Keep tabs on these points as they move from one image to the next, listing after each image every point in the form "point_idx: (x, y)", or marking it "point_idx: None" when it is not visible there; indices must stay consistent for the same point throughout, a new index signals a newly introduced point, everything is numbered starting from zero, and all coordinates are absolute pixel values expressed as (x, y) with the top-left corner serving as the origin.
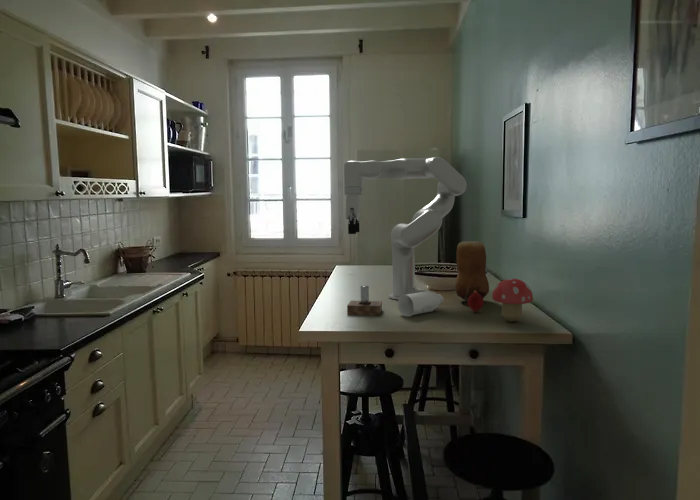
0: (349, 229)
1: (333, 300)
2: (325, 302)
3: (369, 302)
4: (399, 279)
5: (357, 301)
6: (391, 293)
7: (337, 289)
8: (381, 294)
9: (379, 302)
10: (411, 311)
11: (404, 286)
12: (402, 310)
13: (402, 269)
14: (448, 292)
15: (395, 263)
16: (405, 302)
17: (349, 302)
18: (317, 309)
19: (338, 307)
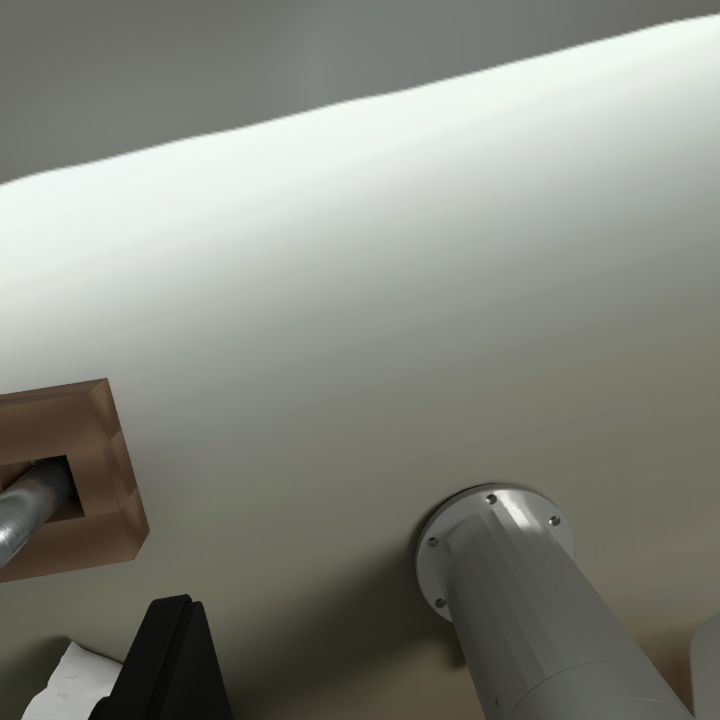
0: (121, 717)
1: (323, 193)
2: (249, 161)
3: (83, 505)
4: (464, 626)
5: (73, 439)
6: (521, 496)
7: (698, 94)
8: (559, 424)
9: (93, 557)
10: None
11: (452, 621)
12: (86, 651)
13: (482, 703)
14: None
15: (515, 692)
16: (111, 683)
17: (27, 403)
18: (36, 182)
19: (136, 291)
